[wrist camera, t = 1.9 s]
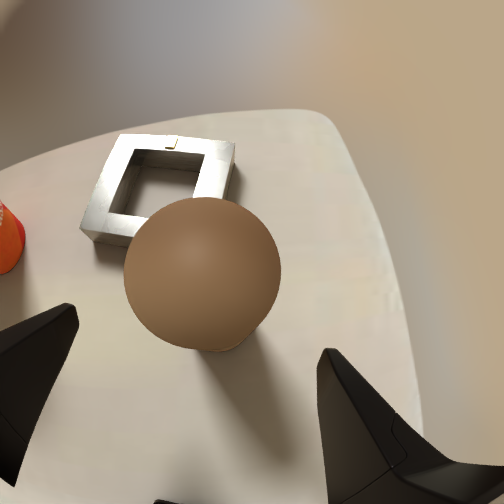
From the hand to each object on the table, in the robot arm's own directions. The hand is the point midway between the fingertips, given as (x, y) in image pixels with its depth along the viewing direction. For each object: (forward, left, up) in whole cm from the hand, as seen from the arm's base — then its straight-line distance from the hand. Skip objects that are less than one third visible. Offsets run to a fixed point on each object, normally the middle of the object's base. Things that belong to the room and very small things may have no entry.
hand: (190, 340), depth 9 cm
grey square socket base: (+10, +6, -10) cm, 15 cm away
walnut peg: (+2, 0, -10) cm, 10 cm away
